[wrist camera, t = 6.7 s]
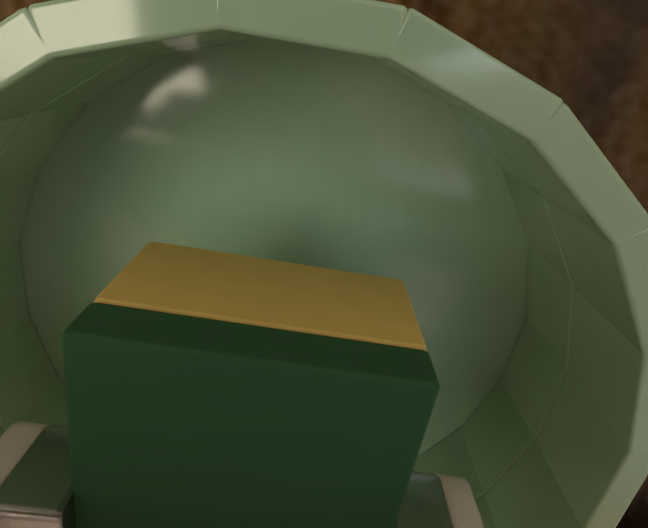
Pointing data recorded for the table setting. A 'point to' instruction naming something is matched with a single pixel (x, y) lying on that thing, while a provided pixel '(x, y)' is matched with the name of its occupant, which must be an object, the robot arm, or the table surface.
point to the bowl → (340, 216)
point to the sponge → (244, 395)
